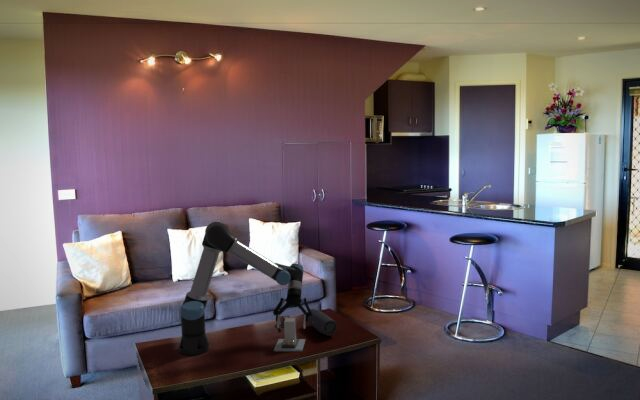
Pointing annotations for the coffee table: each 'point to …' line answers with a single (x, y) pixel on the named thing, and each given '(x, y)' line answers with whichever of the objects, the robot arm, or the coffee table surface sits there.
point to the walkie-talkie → (282, 321)
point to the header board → (298, 344)
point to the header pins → (288, 344)
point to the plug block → (290, 330)
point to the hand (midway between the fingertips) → (291, 327)
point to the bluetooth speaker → (322, 322)
